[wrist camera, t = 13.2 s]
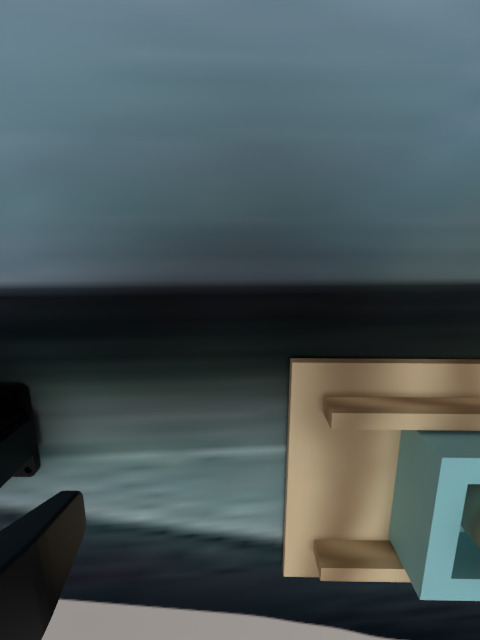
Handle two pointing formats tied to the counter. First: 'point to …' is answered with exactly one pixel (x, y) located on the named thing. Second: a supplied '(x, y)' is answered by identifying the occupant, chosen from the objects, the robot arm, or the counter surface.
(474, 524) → the birch dowel
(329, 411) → the rail base
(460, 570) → the socket block
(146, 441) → the counter surface
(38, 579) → the robot arm
